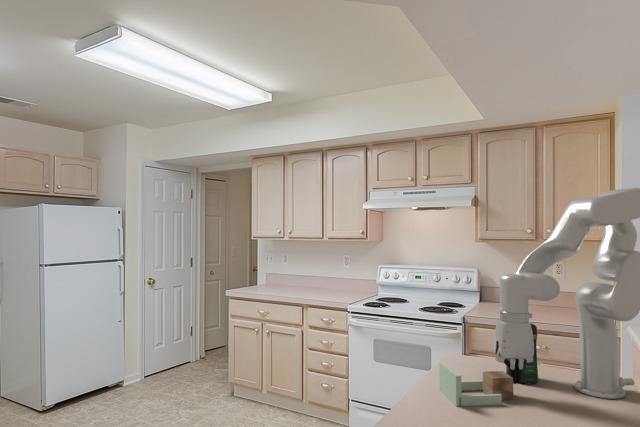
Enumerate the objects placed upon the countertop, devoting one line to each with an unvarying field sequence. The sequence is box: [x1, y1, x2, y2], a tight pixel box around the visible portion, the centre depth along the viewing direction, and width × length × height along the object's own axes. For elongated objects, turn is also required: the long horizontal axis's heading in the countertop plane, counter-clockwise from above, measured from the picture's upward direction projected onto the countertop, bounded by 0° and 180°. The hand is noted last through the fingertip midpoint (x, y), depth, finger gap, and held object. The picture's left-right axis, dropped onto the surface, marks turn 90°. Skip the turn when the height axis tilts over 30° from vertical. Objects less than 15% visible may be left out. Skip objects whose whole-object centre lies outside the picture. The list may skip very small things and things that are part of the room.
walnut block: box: [482, 370, 514, 401], centre depth 126 cm, size 6×6×6 cm
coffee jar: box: [505, 322, 539, 385], centre depth 141 cm, size 10×8×19 cm
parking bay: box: [439, 362, 503, 407], centre depth 125 cm, size 13×12×8 cm
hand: (514, 382), depth 127 cm, fingers closed
